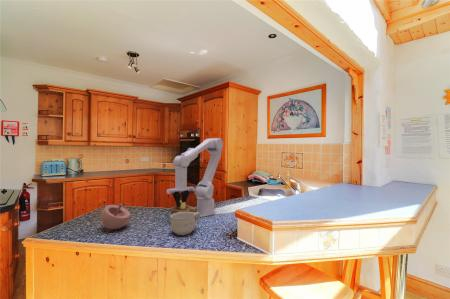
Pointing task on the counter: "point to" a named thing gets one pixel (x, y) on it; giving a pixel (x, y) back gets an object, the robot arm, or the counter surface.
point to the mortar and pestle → (115, 216)
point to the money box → (187, 209)
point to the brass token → (181, 205)
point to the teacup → (184, 222)
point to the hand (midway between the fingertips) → (180, 206)
